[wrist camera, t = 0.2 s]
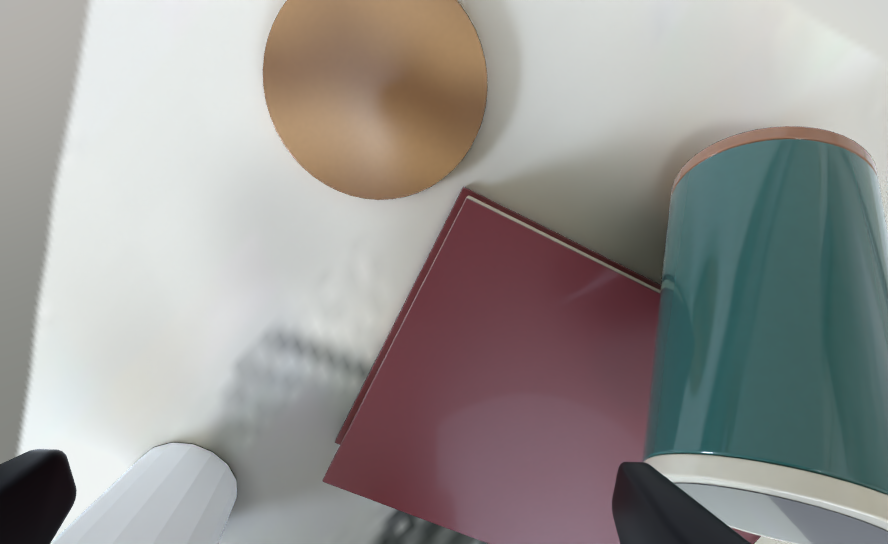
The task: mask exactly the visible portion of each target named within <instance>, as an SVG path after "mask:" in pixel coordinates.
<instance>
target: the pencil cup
mask: <svg viewBox="0 0 888 544" xmlns="http://www.w3.org/2000/svg"><path fill="white" fill-rule="evenodd" d="M642 462H645V463H648V464H649V465H651V466H652V467H654V468H655V469H656V470H657V471H659V472H660V473H661V474H662V475H664V476H665V477H666V478H668V479H669V480H670V481H671V482H673V483H674V484H675V485H677V486H678V487H679V488H680V489H682V490H683V491H684V492H686V493H687V494H688V495H689V496H691V497H692V498H693V499H695V500H696V501H697V502H698V503H700V504H701V505H702V506H704V507H705V508H706V509H707V510H709V511H710V512H711V513H713V514H714V515H715V516H716V517H718V518H719V519H720V520H721V521H723V522H724V523H725V524H727V525H728V526H729V527H731V528H734V529H738V530H741V531H745V532H748V533H752V534H755V535H759V536H763V537H767V538H771V539H775V540H779V541H783V542H787V543H791V544H888V232H887V226H886V220H885V214H884V208H883V202H882V196H881V190H880V184H879V178H878V172H877V168H876V165H875V162H874V160H873V159H872V157H871V155H870V154H869V153H868V152H867V151H866V150H865V149H864V148H863V147H862V146H860V145H859V144H857V143H856V142H855V141H853V140H851V139H849V138H847V137H845V136H843V135H840V134H837V133H834V132H831V131H827V130H823V129H818V128H810V127H798V126H783V127H770V128H763V129H757V130H752V131H748V132H743V133H740V134H737V135H734V136H731V137H728V138H725V139H723V140H721V141H718V142H716V143H714V144H712V145H710V146H709V147H707V148H705V149H703V150H702V151H700V152H699V153H697V154H696V155H695V156H694V157H692V158H691V159H690V160H689V161H688V162H687V163H686V164H685V165H684V166H683V167H682V168H681V170H680V171H679V173H678V174H677V176H676V178H675V180H674V182H673V186H672V190H671V200H670V208H669V217H668V227H667V236H666V245H665V254H664V263H663V272H662V282H661V291H660V300H659V309H658V318H657V327H656V337H655V346H654V355H653V364H652V373H651V382H650V392H649V401H648V410H647V419H646V428H645V437H644V447H643V456H642Z"/></svg>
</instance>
